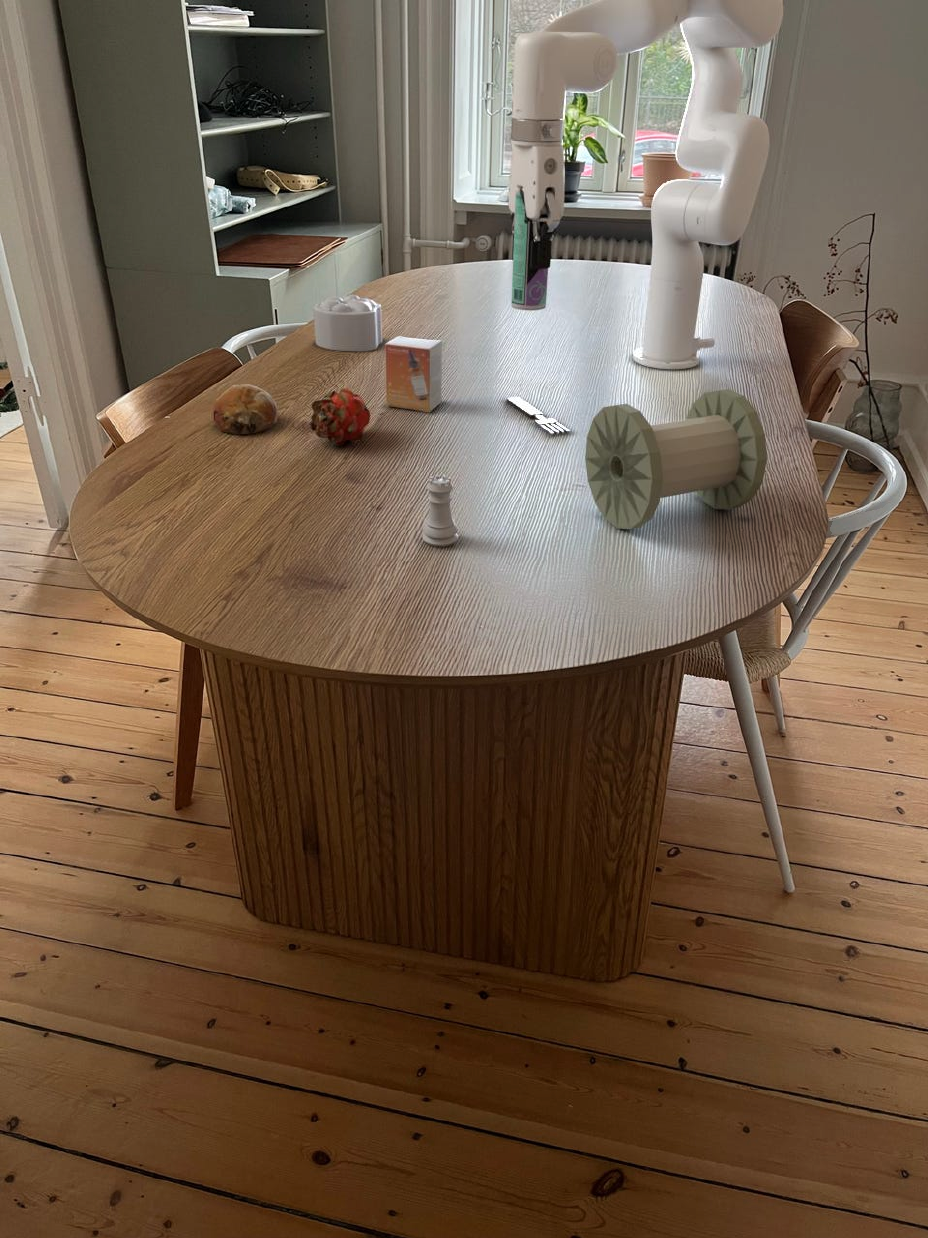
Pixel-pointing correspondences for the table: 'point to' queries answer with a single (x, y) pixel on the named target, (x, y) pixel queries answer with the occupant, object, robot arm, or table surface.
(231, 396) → the bread roll
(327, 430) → the dragon fruit
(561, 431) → the fork
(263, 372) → the table surface
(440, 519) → the rook chess piece
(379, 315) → the lumpy-topped squat cylinder
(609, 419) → the spool
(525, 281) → the spray can
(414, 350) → the small box
